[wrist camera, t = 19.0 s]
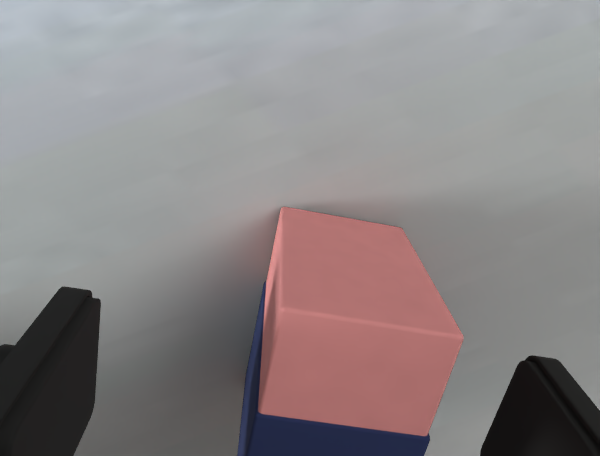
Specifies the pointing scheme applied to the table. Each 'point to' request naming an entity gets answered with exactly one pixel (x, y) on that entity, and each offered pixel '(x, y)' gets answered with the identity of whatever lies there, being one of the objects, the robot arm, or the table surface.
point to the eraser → (345, 344)
